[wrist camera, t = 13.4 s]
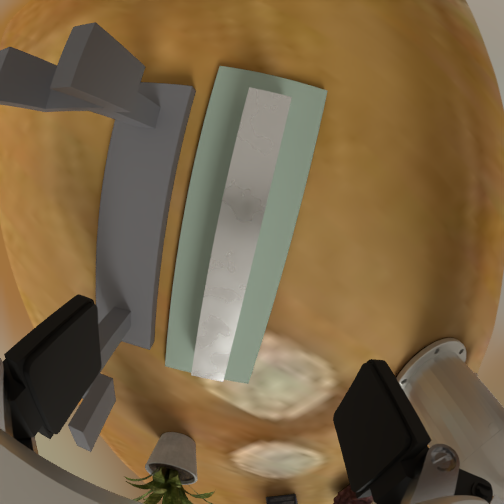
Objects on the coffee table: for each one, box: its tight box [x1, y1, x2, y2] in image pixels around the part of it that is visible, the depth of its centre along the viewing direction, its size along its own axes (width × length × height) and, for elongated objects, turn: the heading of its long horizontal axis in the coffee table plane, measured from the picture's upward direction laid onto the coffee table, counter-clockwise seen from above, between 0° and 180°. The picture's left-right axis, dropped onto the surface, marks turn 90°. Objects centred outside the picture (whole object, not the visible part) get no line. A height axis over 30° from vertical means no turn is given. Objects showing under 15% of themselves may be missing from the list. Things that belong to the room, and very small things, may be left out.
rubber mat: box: [165, 66, 327, 384], centre depth 23 cm, size 9×29×1 cm, turn 167°
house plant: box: [125, 432, 215, 504], centre depth 24 cm, size 14×14×16 cm
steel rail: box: [191, 87, 292, 382], centre depth 21 cm, size 3×24×3 cm, turn 167°
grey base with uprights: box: [0, 23, 196, 452], centre depth 15 cm, size 6×24×16 cm, turn 167°
